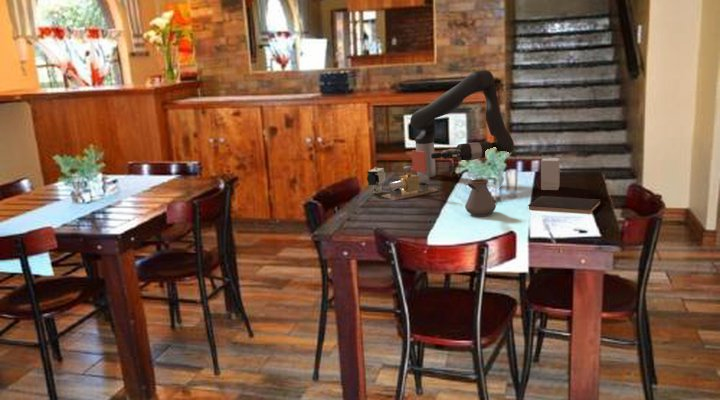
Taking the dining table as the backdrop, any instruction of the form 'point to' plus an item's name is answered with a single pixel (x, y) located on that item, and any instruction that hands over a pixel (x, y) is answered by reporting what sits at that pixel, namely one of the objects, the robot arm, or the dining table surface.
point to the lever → (417, 162)
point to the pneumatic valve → (376, 178)
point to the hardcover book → (564, 204)
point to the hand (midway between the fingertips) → (431, 156)
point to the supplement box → (550, 174)
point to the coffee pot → (479, 199)
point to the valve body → (409, 187)
